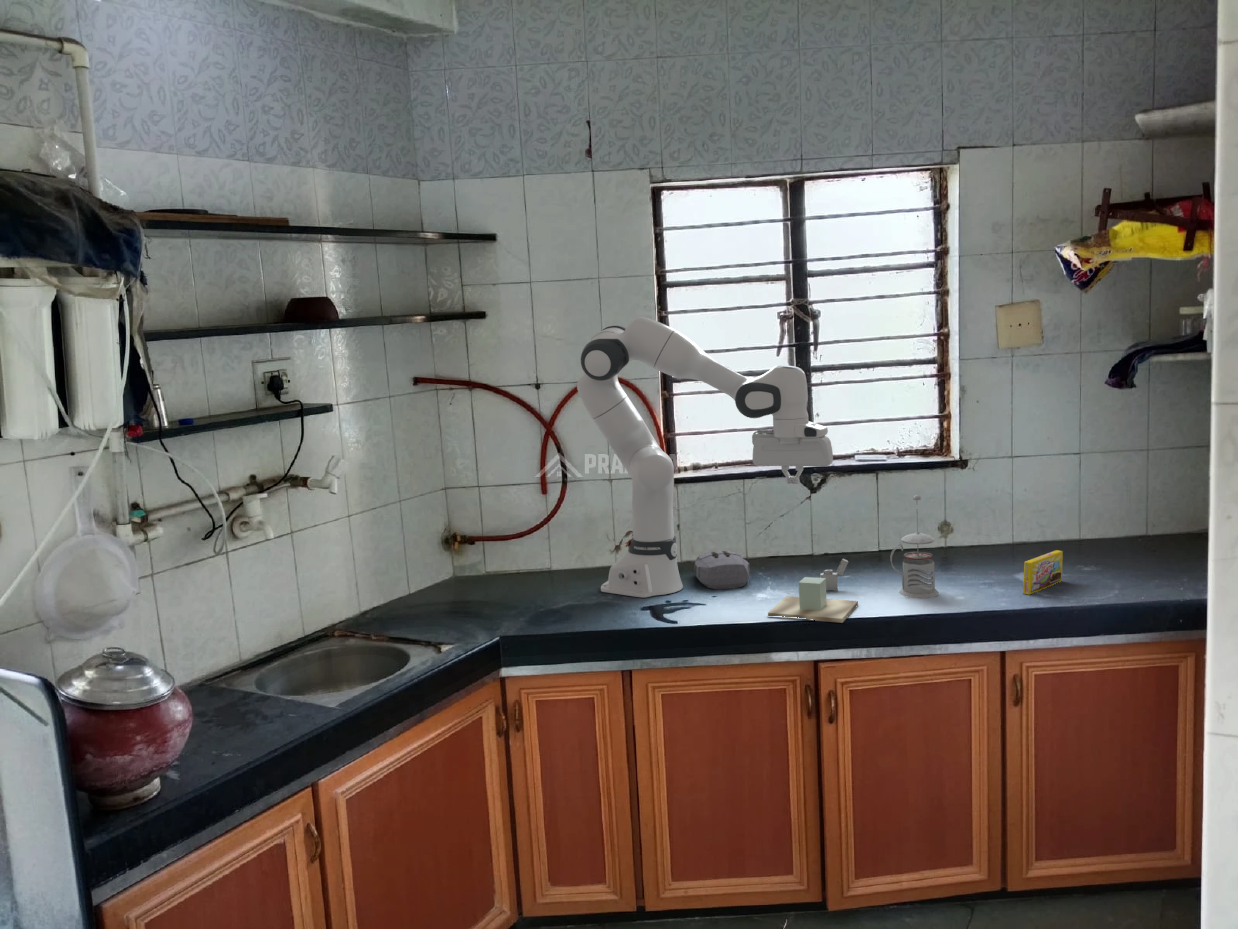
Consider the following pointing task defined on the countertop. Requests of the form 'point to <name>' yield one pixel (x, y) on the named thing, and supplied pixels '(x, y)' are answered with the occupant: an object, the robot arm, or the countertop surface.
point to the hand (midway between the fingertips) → (793, 483)
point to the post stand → (829, 613)
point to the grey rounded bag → (722, 570)
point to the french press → (917, 566)
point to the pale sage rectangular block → (812, 593)
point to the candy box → (1042, 572)
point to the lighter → (833, 575)
